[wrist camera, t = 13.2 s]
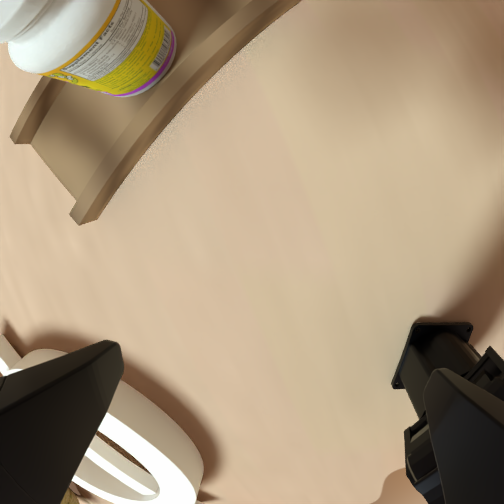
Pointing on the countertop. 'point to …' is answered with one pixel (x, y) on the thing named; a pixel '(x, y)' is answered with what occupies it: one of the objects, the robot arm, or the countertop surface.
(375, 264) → the countertop surface
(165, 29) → the supplement bottle
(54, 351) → the ring with crossbar
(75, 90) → the oak track
